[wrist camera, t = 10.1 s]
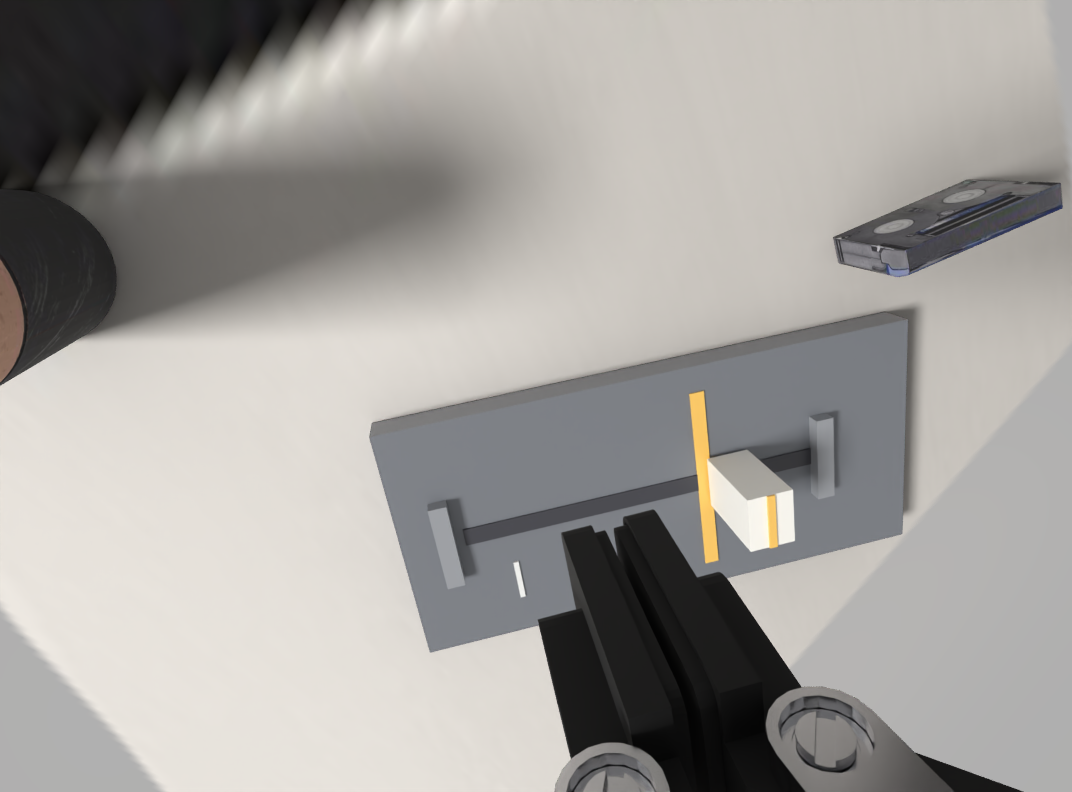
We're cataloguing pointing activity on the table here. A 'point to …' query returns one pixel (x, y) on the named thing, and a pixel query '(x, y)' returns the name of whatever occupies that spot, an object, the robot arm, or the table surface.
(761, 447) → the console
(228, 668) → the table surface
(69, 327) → the travel mug
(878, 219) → the mini dv tape
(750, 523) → the fader
